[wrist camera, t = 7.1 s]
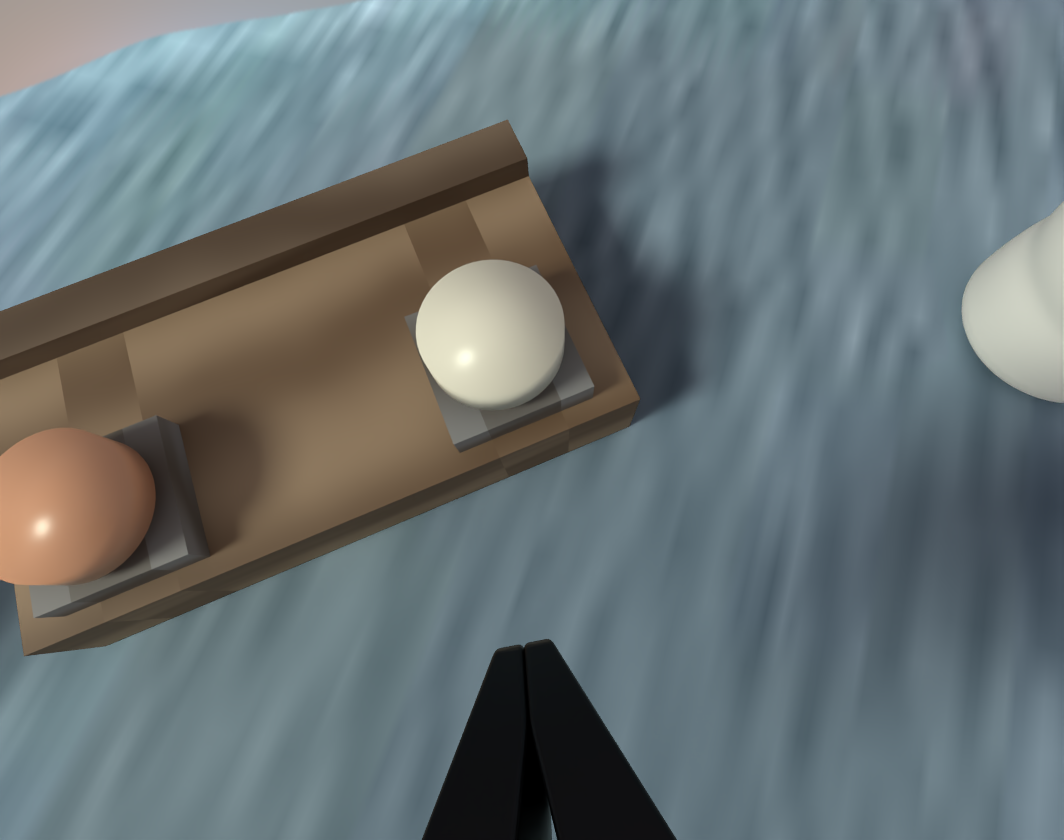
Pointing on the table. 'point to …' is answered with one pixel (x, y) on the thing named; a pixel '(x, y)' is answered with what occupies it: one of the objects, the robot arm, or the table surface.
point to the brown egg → (71, 507)
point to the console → (295, 381)
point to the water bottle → (1022, 310)
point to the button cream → (491, 334)
